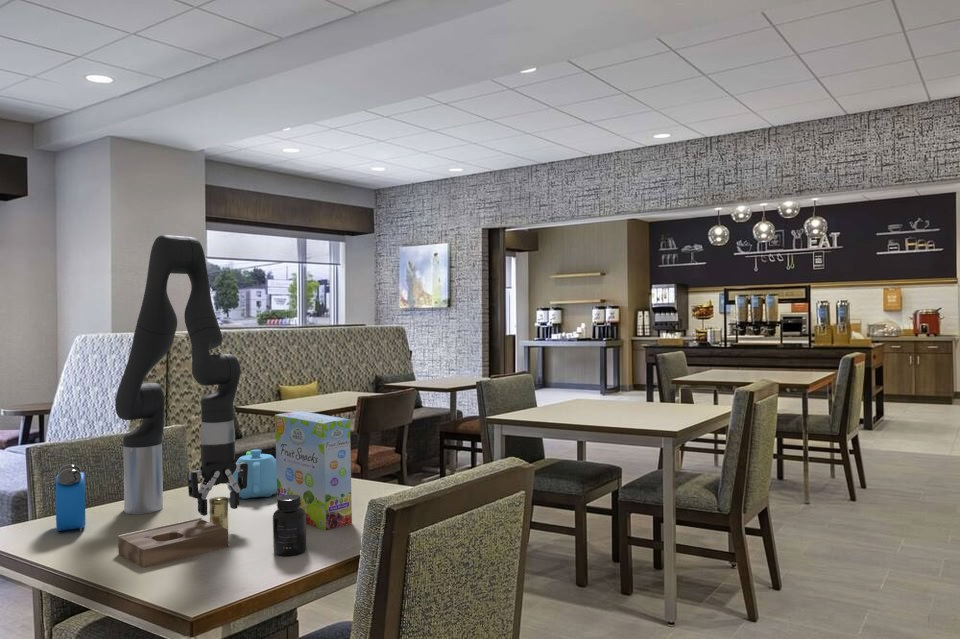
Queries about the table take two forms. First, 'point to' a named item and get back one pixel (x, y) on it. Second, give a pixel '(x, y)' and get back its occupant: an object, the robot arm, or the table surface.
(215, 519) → the brass cylinder plug
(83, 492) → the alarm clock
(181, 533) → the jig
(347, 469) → the snack box
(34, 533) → the table surface
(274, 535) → the supplement bottle
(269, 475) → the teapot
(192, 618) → the table surface
